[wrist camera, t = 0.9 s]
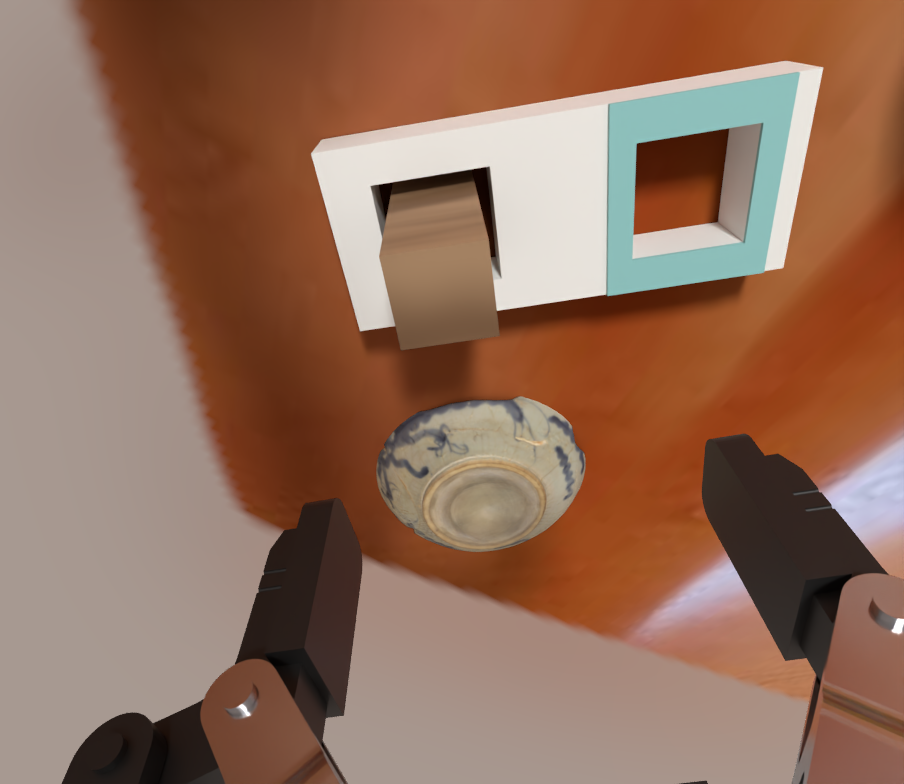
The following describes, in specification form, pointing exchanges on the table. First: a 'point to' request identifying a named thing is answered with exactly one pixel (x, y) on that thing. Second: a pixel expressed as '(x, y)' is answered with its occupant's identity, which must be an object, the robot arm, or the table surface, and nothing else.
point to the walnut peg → (438, 262)
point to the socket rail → (587, 186)
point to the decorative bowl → (481, 472)
